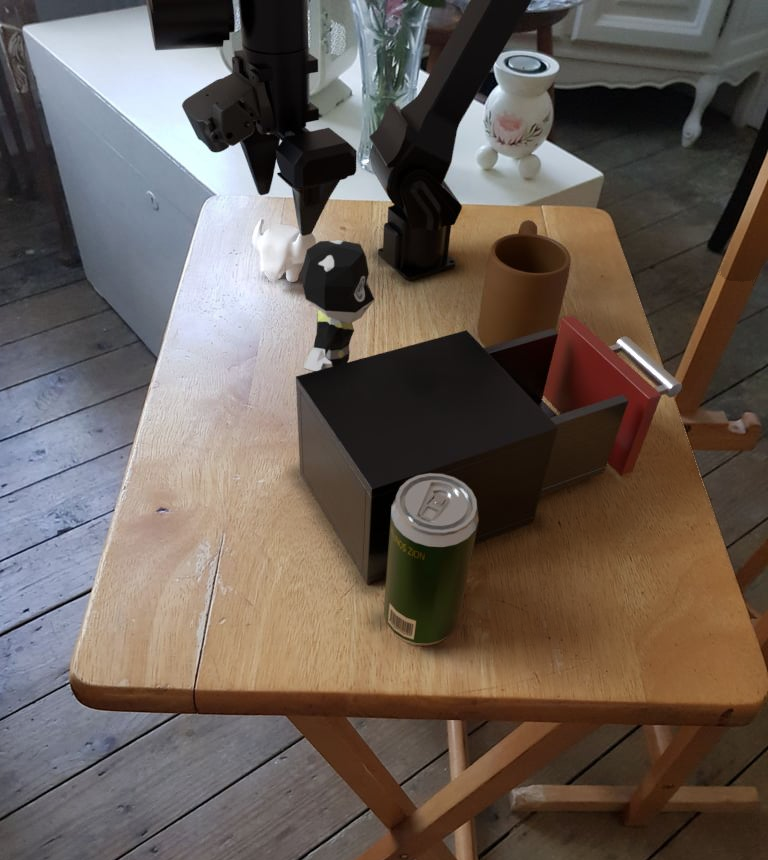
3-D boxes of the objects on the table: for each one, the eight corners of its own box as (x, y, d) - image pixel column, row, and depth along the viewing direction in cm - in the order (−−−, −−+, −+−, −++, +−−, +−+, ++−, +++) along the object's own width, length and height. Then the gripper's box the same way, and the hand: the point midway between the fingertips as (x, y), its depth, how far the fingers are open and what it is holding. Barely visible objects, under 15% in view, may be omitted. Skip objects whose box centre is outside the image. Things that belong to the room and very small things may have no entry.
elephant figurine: (240, 287, 85) (235, 234, 81) (273, 250, 90) (270, 199, 86) (300, 302, 84) (298, 249, 79) (330, 264, 89) (330, 212, 84)
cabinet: (453, 425, 72) (466, 329, 64) (532, 522, 64) (558, 427, 57) (299, 474, 67) (295, 376, 59) (367, 585, 60) (371, 489, 52)
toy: (353, 453, 69) (357, 300, 58) (284, 441, 69) (274, 287, 58) (385, 359, 78) (393, 211, 67) (323, 349, 78) (321, 200, 67)
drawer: (596, 378, 76) (619, 301, 70) (678, 455, 69) (711, 378, 63) (423, 432, 70) (432, 353, 64) (494, 523, 63) (511, 444, 57)
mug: (479, 289, 87) (491, 205, 80) (550, 297, 86) (569, 213, 79) (474, 357, 79) (488, 270, 72) (553, 366, 78) (574, 279, 71)
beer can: (438, 662, 55) (458, 549, 47) (369, 628, 57) (375, 513, 48) (470, 606, 59) (495, 491, 50) (404, 576, 60) (416, 459, 51)
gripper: (145, 22, 72) (172, 191, 84) (235, 97, 62) (251, 279, 73) (259, 5, 77) (270, 169, 88) (361, 74, 66) (358, 249, 78)
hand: (284, 213), depth 82 cm, fingers open, 9 cm apart
